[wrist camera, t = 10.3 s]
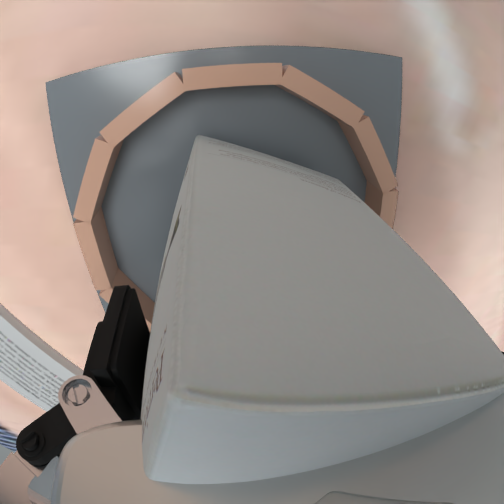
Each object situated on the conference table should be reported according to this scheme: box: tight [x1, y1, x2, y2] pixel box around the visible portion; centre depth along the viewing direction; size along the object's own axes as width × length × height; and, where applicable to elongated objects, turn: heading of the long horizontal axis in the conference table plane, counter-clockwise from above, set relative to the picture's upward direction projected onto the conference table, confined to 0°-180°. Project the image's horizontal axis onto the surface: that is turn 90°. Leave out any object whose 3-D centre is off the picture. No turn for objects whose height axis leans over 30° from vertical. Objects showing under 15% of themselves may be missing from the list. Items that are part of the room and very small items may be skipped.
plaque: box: [0, 303, 84, 411], centre depth 23 cm, size 30×2×10 cm
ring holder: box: [46, 46, 402, 331], centre depth 17 cm, size 19×19×3 cm
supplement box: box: [141, 135, 504, 484], centre depth 10 cm, size 7×7×13 cm
